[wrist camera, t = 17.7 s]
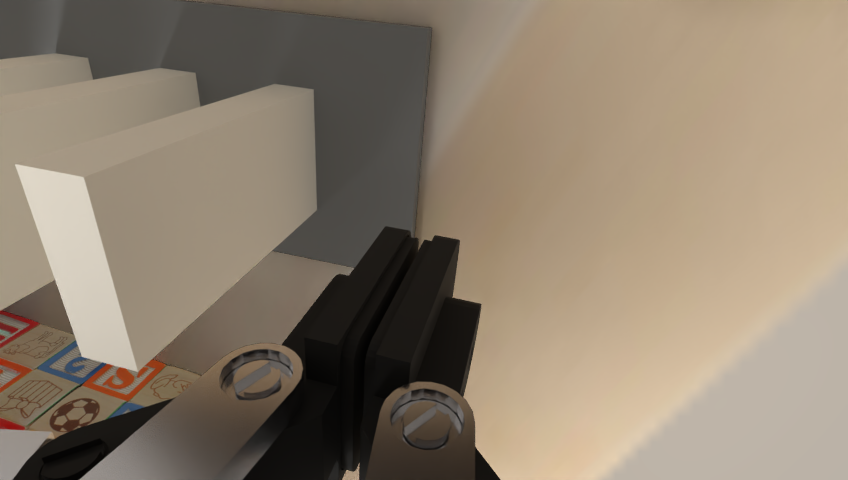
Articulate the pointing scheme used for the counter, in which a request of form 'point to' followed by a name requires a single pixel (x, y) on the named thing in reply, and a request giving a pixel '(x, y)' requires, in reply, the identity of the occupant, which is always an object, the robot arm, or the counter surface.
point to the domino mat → (266, 65)
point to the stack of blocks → (70, 381)
